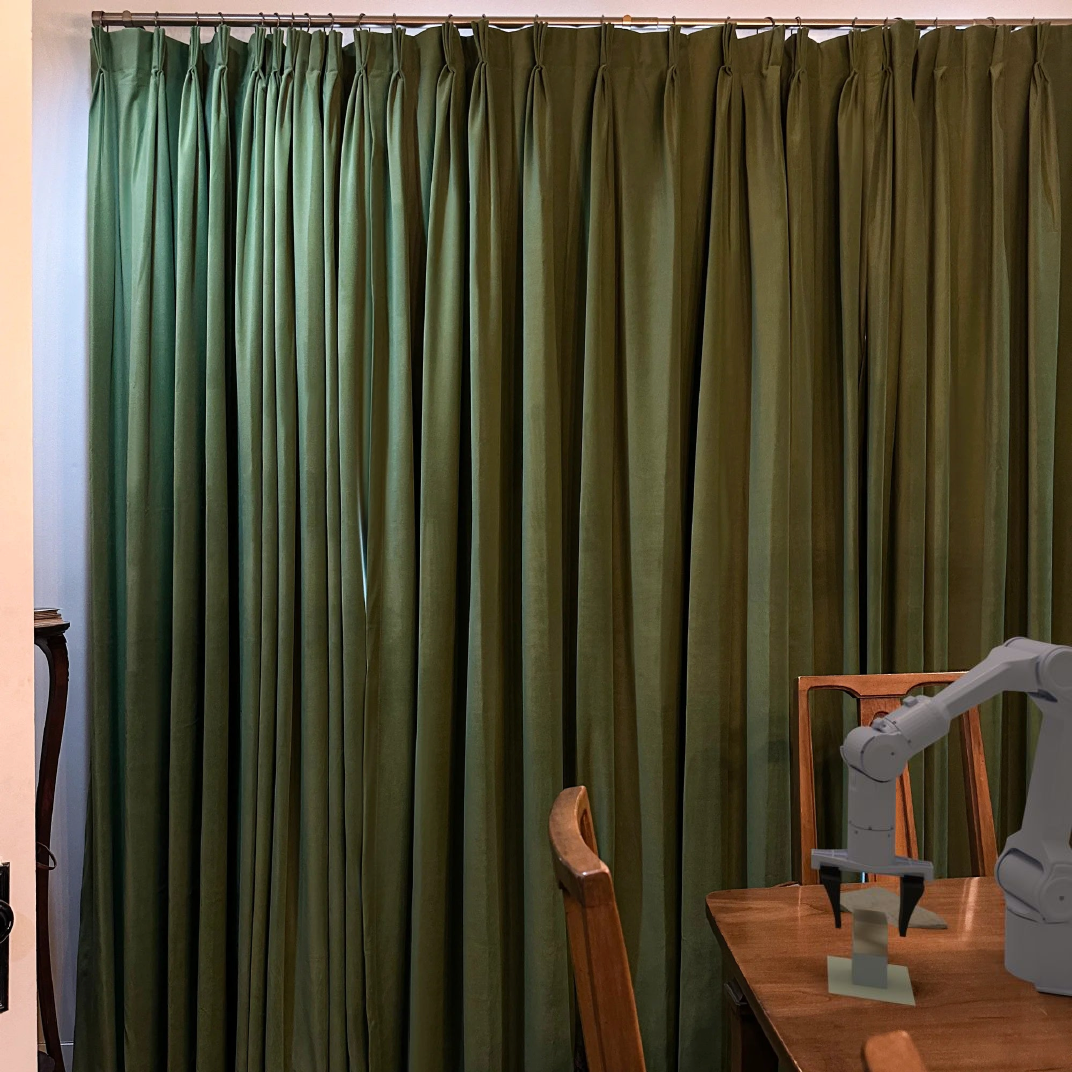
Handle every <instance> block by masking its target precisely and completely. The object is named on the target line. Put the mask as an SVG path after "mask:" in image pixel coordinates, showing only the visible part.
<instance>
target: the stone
mask: <svg viewBox="0 0 1072 1072" xmlns="http://www.w3.org/2000/svg"><path fill="white" fill-rule="evenodd" d="M853 908H856V909H864V910H871V911H879V912H886V917H887V922H888V925H890V926H893V927H895V928H898V920H899V909H900V895H898V894H897V893H895V892H894V891H890V890H888V889H886V888H884V887H882V886H871V887H868V888H865V889H859V890H858V889H857V890H852V891H846V892H840V911H841V912H843V913H844V914H852V915H853ZM948 926H949V925H948V922H947V921H946V920H945V919H943V918H942V917H941V916H940V915H938V914H937V913H935V912H933V911H931V910H928V909H927V908H923V907H922V906H920V905H918V904H917V905H916V907H915V908H914V911H913V913H912V915H911V918H910V921H909V924H908V928H907V929H928V930H930V929H931V930H943V929H945V928H948Z"/></svg>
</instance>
